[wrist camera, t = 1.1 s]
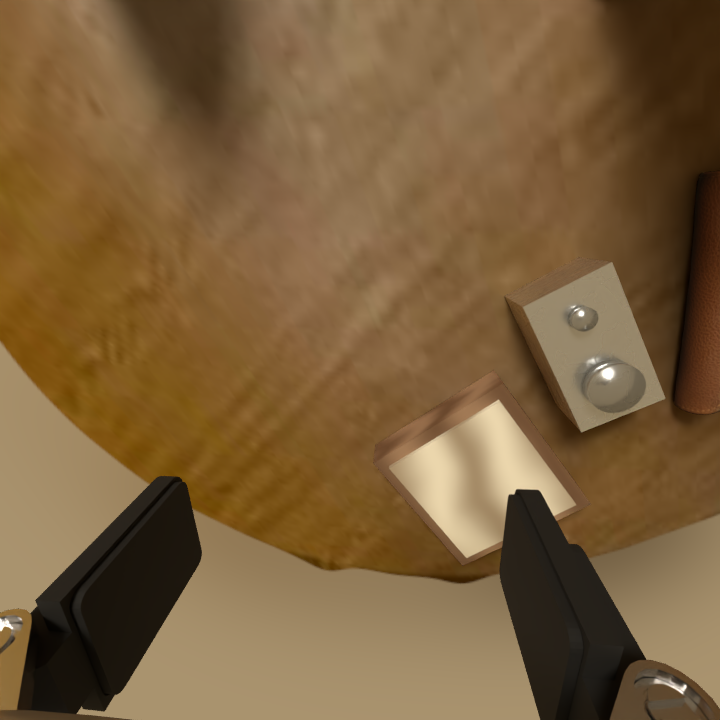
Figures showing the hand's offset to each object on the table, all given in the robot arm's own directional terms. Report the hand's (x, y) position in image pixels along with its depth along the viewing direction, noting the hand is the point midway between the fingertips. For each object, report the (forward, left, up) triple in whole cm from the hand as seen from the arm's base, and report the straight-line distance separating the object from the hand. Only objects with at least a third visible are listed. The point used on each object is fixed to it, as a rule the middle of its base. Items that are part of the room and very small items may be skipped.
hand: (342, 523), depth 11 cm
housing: (-12, +10, -23) cm, 27 cm away
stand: (+1, +16, -23) cm, 28 cm away
